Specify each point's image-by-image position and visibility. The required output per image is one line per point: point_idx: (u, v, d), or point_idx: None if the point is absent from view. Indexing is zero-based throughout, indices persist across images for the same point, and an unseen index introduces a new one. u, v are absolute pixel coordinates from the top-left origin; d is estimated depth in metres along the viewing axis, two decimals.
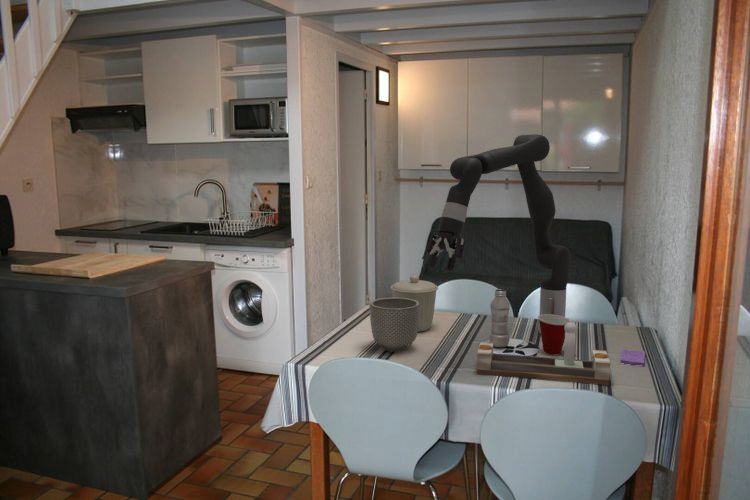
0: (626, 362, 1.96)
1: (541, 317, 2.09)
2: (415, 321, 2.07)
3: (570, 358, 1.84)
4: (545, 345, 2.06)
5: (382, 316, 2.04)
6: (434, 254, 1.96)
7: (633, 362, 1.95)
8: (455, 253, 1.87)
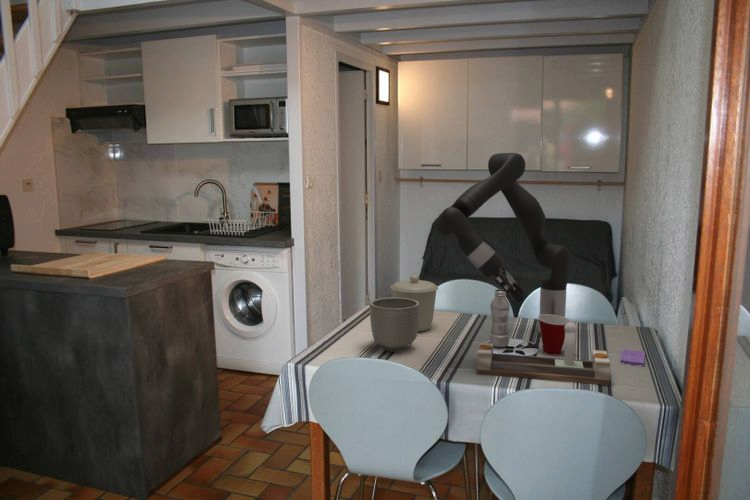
0: (626, 362, 1.95)
1: (541, 317, 2.09)
2: (415, 321, 2.07)
3: (570, 358, 1.84)
4: (545, 345, 2.06)
5: (382, 316, 2.04)
6: (512, 285, 1.95)
7: (633, 362, 1.95)
8: None
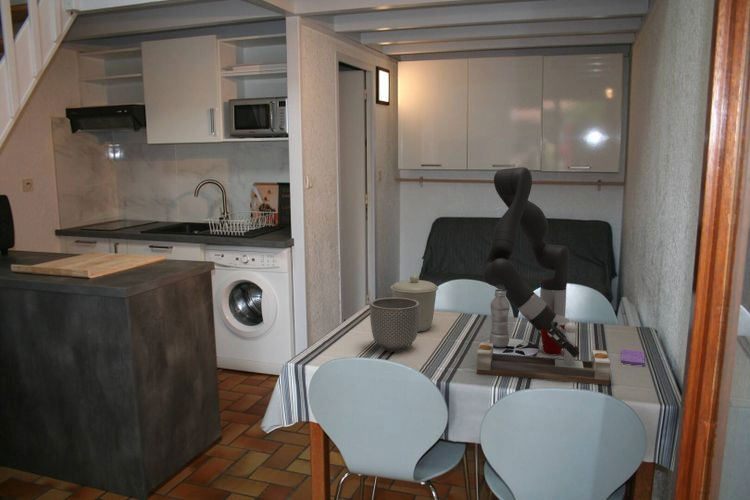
0: (626, 362, 1.95)
1: None
2: (415, 321, 2.07)
3: (570, 358, 1.84)
4: (545, 345, 2.06)
5: (382, 316, 2.04)
6: None
7: (633, 362, 1.95)
8: None
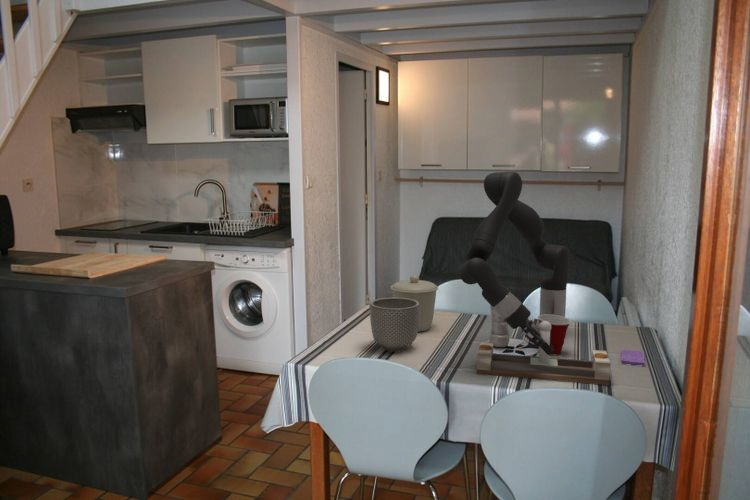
0: (627, 362, 1.95)
1: (541, 317, 2.09)
2: (415, 321, 2.07)
3: (545, 356, 1.86)
4: None
5: (382, 316, 2.04)
6: None
7: (634, 362, 1.95)
8: None
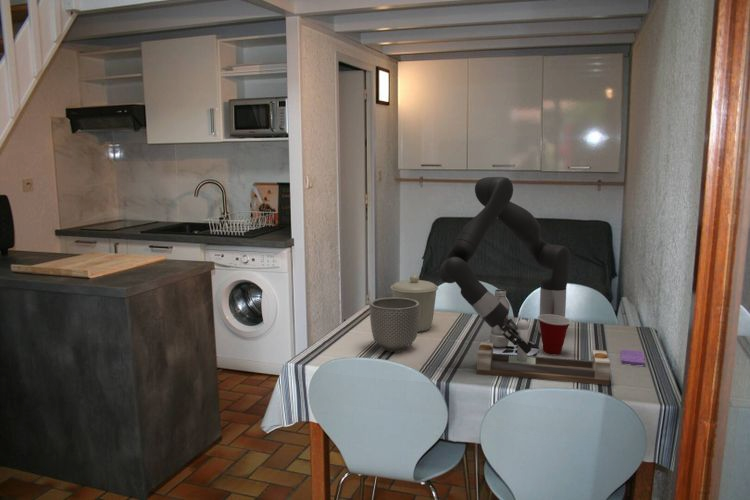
0: (627, 362, 1.95)
1: (541, 317, 2.09)
2: (415, 321, 2.07)
3: (523, 354, 1.88)
4: (545, 345, 2.06)
5: (382, 316, 2.04)
6: None
7: (634, 362, 1.95)
8: (513, 343, 1.85)
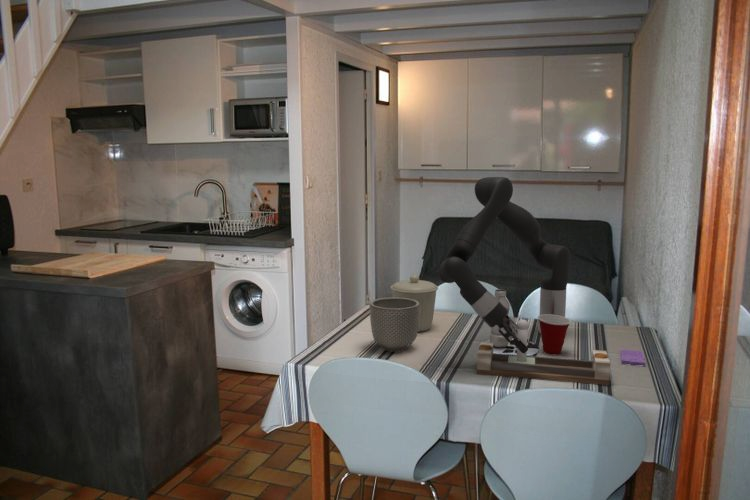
0: (627, 362, 1.95)
1: (541, 317, 2.09)
2: (415, 321, 2.07)
3: (522, 354, 1.88)
4: (545, 345, 2.06)
5: (382, 316, 2.04)
6: None
7: (634, 362, 1.95)
8: None
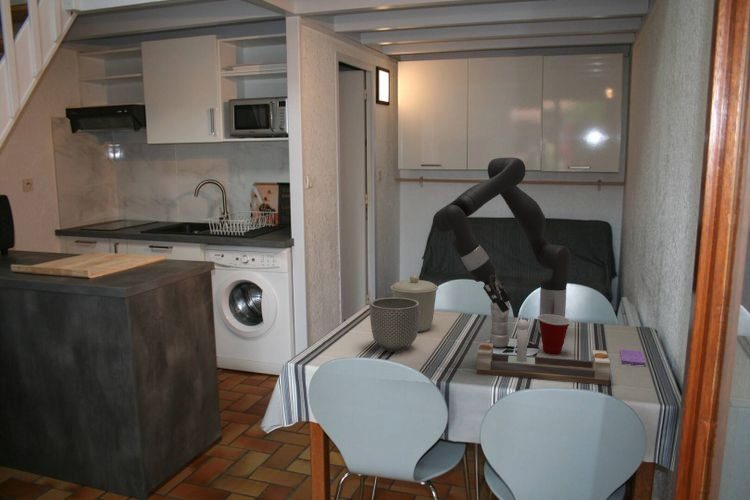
0: (627, 362, 1.95)
1: (541, 317, 2.09)
2: (415, 321, 2.07)
3: (522, 354, 1.88)
4: (545, 345, 2.06)
5: (382, 316, 2.04)
6: (499, 290, 1.94)
7: (634, 362, 1.95)
8: None
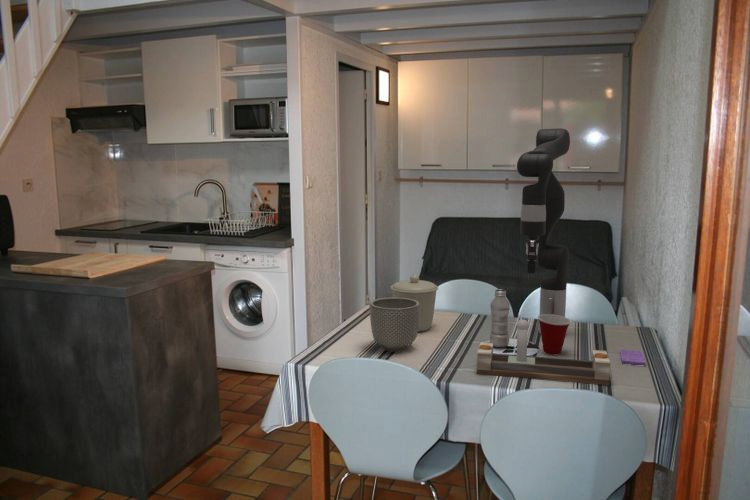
0: (627, 362, 1.95)
1: (541, 317, 2.09)
2: (415, 321, 2.07)
3: (522, 354, 1.88)
4: (545, 345, 2.06)
5: (382, 316, 2.04)
6: (531, 255, 1.96)
7: (634, 362, 1.95)
8: (527, 257, 1.86)
